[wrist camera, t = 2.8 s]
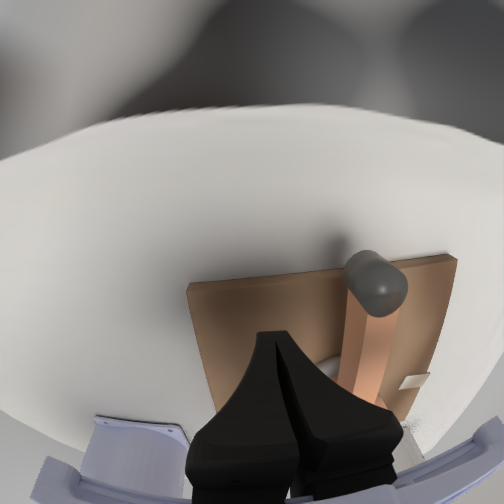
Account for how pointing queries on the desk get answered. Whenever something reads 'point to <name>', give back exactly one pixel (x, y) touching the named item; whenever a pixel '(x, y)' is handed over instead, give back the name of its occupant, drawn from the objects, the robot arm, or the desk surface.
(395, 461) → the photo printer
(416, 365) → the walnut base
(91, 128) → the desk surface
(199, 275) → the desk surface
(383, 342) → the wooden tool handle
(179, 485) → the robot arm
